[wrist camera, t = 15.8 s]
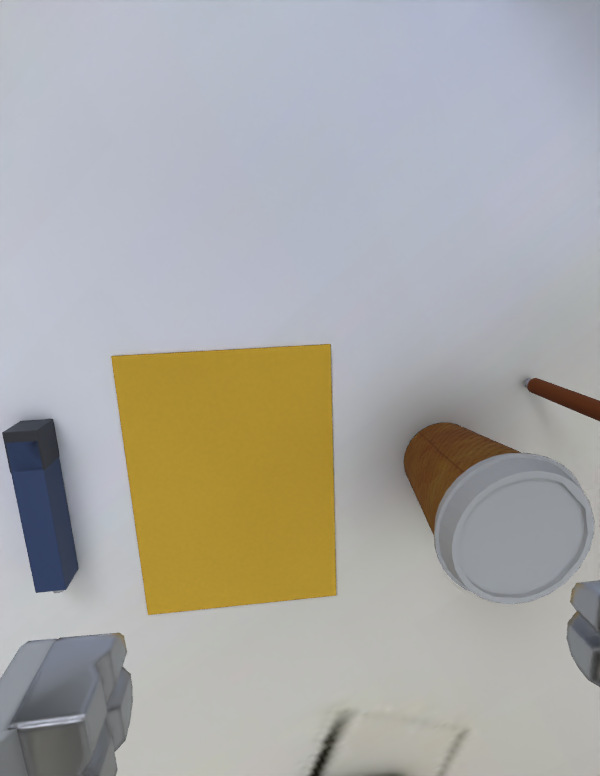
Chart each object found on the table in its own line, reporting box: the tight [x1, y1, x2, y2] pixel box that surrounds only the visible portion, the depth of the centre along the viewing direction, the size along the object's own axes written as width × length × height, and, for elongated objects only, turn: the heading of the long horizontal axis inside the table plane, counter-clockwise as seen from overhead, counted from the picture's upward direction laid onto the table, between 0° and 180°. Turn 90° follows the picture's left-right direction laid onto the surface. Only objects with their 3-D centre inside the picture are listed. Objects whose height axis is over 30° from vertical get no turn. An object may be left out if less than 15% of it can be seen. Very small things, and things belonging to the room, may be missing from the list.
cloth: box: [111, 344, 336, 615], centre depth 36 cm, size 22×16×1 cm
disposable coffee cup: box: [404, 423, 594, 604], centre depth 32 cm, size 10×10×12 cm
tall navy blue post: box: [2, 419, 78, 593], centre depth 34 cm, size 14×2×3 cm, turn 2°
